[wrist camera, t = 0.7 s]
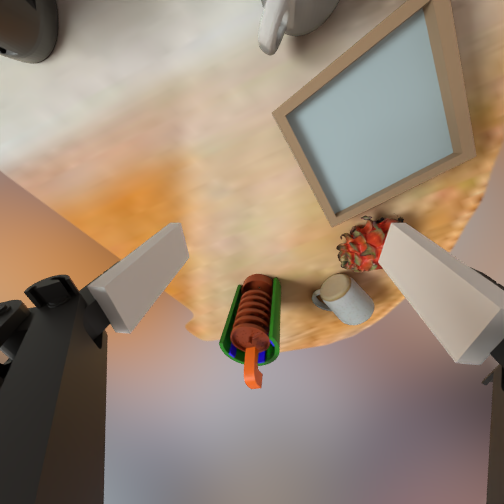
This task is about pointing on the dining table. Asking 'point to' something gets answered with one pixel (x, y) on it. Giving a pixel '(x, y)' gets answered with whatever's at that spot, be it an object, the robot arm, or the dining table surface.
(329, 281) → the ceramic mug
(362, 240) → the dragon fruit
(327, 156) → the picture frame
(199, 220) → the dining table surface
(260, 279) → the green and brown toy
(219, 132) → the dining table surface
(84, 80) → the dining table surface
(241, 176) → the dining table surface
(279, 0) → the coffee mug
